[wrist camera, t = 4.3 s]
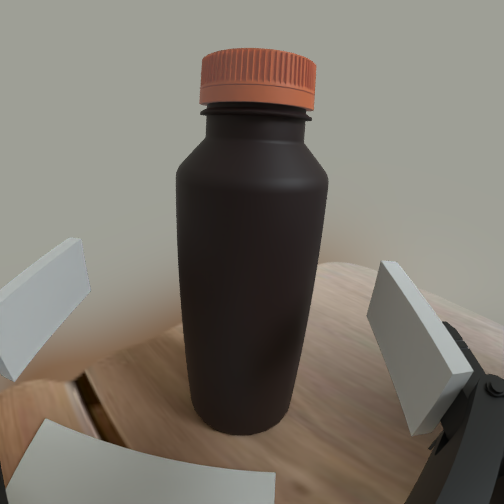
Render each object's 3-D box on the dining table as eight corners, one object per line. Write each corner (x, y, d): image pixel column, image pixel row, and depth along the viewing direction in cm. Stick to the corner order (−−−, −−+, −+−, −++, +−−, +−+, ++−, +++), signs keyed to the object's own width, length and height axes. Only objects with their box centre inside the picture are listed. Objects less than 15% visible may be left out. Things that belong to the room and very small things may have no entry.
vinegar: (177, 379, 20) (163, 67, 12) (258, 355, 24) (280, 78, 15) (216, 452, 15) (217, 29, 7) (309, 413, 18) (371, 70, 10)
